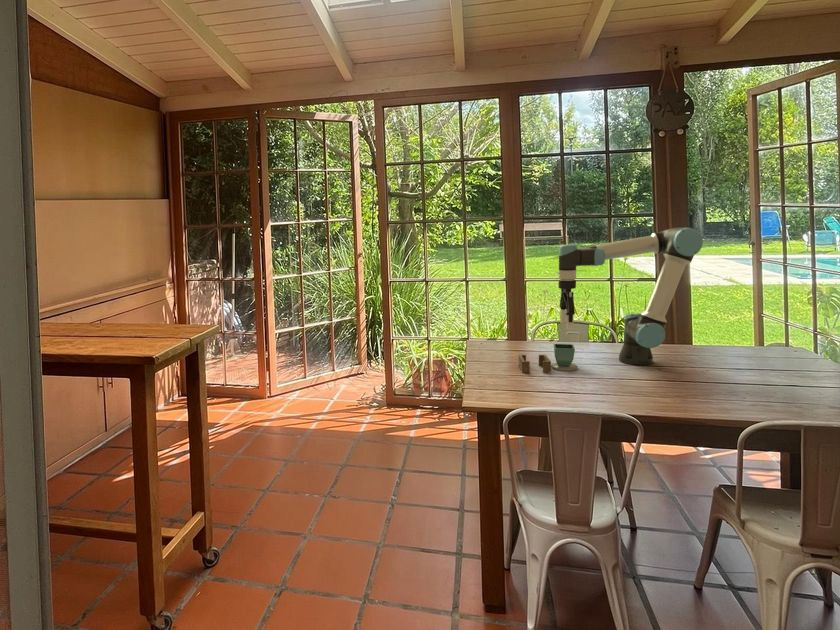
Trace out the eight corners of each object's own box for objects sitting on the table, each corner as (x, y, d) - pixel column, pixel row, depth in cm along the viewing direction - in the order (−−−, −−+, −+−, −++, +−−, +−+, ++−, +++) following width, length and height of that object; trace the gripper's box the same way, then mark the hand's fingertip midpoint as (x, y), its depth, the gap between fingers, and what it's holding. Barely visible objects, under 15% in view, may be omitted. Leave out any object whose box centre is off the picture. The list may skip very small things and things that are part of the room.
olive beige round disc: (574, 364, 249) (574, 362, 249) (580, 371, 237) (580, 369, 237) (548, 364, 250) (548, 362, 250) (553, 371, 238) (553, 369, 238)
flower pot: (574, 367, 240) (575, 348, 238) (554, 367, 241) (554, 348, 240) (572, 362, 248) (573, 344, 247) (552, 362, 250) (553, 343, 248)
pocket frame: (545, 365, 248) (545, 354, 247) (550, 372, 236) (550, 361, 235) (518, 365, 249) (518, 354, 248) (521, 372, 237) (522, 361, 236)
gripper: (553, 277, 249) (553, 321, 253) (564, 282, 225) (563, 332, 228) (569, 276, 249) (569, 321, 252) (582, 282, 224) (581, 331, 228)
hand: (566, 326), depth 240 cm, fingers open, 13 cm apart
